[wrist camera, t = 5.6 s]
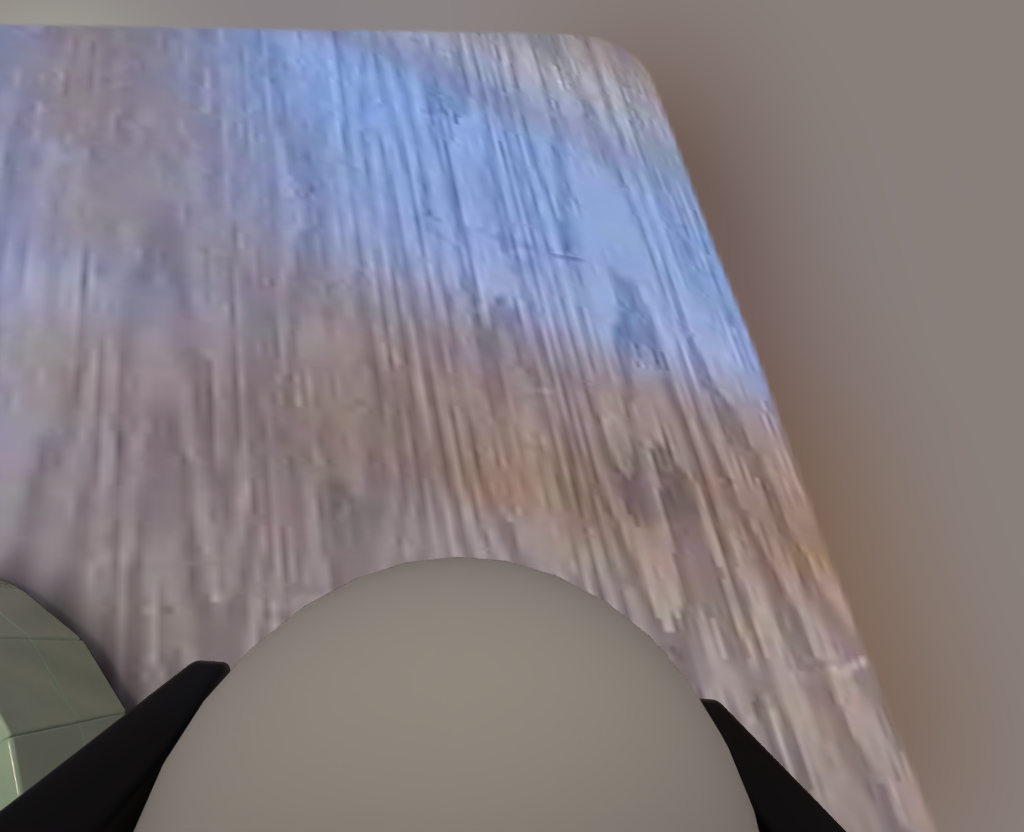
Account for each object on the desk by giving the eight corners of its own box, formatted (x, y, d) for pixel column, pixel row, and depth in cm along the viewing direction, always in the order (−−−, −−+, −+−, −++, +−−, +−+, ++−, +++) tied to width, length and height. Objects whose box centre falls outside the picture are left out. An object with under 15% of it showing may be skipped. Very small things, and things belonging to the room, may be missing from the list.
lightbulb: (554, 936, 12) (1118, 2215, 2) (264, 892, 12) (-637, 2166, 2) (585, 632, 15) (924, 579, 5) (345, 588, 14) (146, 428, 4)
